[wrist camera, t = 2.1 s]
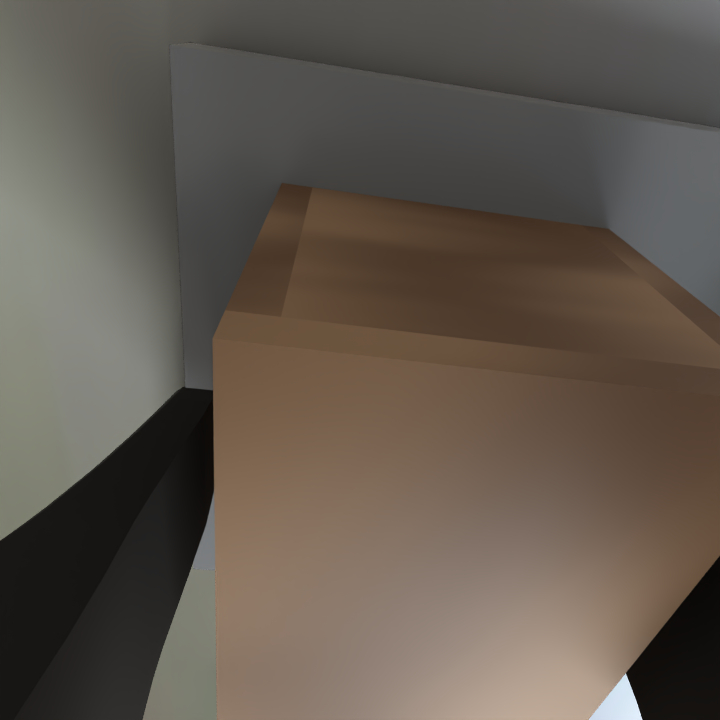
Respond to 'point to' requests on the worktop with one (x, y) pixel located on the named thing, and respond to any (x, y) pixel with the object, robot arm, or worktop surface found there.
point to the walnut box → (453, 463)
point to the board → (416, 170)
